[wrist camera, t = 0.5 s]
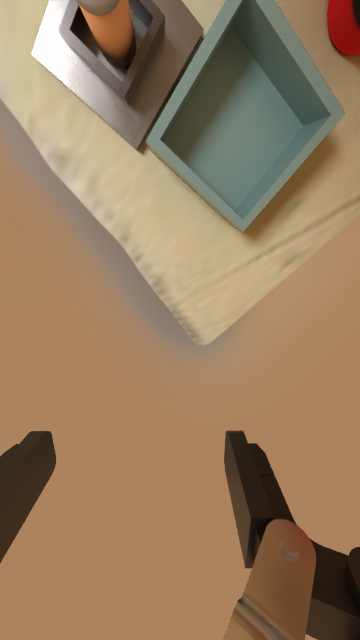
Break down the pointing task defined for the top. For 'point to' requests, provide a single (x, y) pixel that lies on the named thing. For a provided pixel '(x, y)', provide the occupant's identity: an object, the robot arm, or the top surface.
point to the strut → (111, 29)
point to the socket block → (120, 83)
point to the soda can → (345, 25)
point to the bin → (245, 111)
